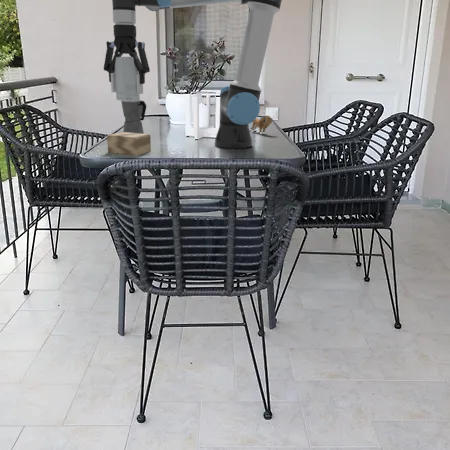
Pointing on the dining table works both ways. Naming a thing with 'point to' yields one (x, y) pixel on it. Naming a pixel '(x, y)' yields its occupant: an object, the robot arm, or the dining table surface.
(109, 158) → the dining table surface
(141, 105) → the coffeepot
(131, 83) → the skincare box
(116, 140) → the oak block
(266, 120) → the lion figurine
